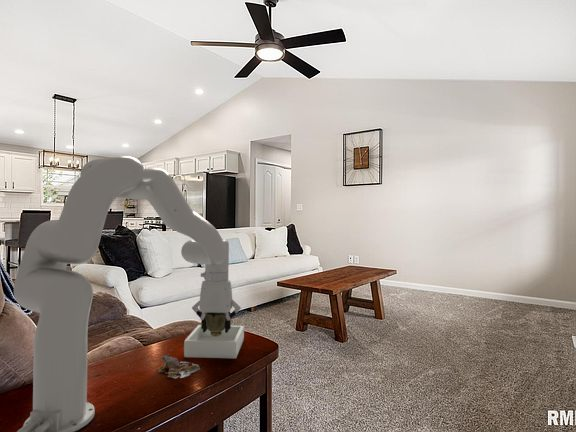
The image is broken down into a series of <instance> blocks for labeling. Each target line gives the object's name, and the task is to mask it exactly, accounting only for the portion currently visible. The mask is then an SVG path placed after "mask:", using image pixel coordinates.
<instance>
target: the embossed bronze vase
mask: <svg viewBox="0 0 576 432" xmlns="http://www.w3.org/2000/svg"><path fill="white" fill-rule="evenodd" d="M205 314H206V313H205ZM205 318H206V326H207V329H208V330H209V331H210V332H211V333H210V334H211V336H212V337H219V336H221V334H222V332H221V331H223V330H224V329H225V321H226V314H224V313H207V314H206V315H205Z"/></svg>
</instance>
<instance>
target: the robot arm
mask: <svg viewBox="0 0 576 432" xmlns="http://www.w3.org/2000/svg"><path fill="white" fill-rule="evenodd" d="M79 173H80V176H79V177H78V178H77V179H76V181H74V183H73V184H72V186H71V188H70V190H69V192H68V194H67V197H66V199H65V203H64V205H63V207H62V210H61V212H60V216H59V218H58V219H50V220H47V221H45V222H42V223H41V224H39V225H38V226H37V227H36V228H34V229H33V231H32V232H31V233H30V235H29V237H28V239H27V241H26V246H25V248H24V251H23V253H22V257H21V260H20V263H19V267H18V269H17V274H16V277H15V280H14V285H13V296H14V299H15V301H16V302H17V304H18V305H19V306H20V307H22V308H24V309H26V310H28V311H30V312H31V311H32V312H36V313H39V318H38V322H37V324H36V327H35V331H34V336H33V348H32V350H33V366H32V368H33V369H32V370H33V371H32V372H33V374H32V377H33V379H32V386H33V387H32V411H30V413H29V414H30V415H29V417H28V418H27V419H26V420H25V421H24V423H23V425H22V427H21V428H19V429H18V430H17V431H16V432H77V431H79V430H81V429H82V428H84V427H85V426H87V425H88V424H89V423H90V422H91V421H92V420H93V418H94V417H95V414H96V413H95V409H96V408H95V406H94V405H93V404H92V403H90V402H89V401H88V399H87V398H88V396H87V395H88V393H87V392H88V336H89V335H88V332H89V331H88V328H89V319H90V318H89V317H90V312H91V307H92V303H93V299H94V290H93V285H92V284H91V282H90V280H89V279H88V278H87V277H86V276H85V275H83V274H81V273H79V272H77V271H73V270H70V269H67V267H68V265H83V264H85V263H88V262H89V261H92V259H93V258H94V257H95V255H96V254H97V251H98V248H99V246H100V242H101V238H102V234H103V230H104V226H105V223H106V219H107V216H108V213H109V209H110V208H111V205H112V203H113V202H114V201H116V199H117V198H120V199H125V200H126V199H128V200H137V201H138V200H139V201H140V200H144V201H145V200H146V201H147V202H149V204H150V205H151V207H152V208H153V209H154V211H155V212H156V215H157V216H159V219H160V220H161V221H162V223H163V224H164V225H165V227H167V228H169V229H171V230H173V231H174V232H176V233H179V234H182V235H184V236H186V237H189V238H190V240H187V241H186V242H185V243H184V244H182V247H181V249H180V252H181V253H180V254H181V257H182V259H184V260H185V261H186V262H187V263H191V264H197V265H204V268H205V269H204V272H201V273H200V277H201V278H204V280H202V283H201V286H200V293H199V300H198V301H197V302H196V303H195V304H194V305H193V306H192V307H191V309H192V310H193V311H194V313H195V314H196V316H197V317H199V318H200V320H201V322H200V323H201V324H200V325H201V328H202V329H203V332H206V330H207V326H206V318H205V315H206V314H207V313H224V314H226V321H225V332H226V333H227V332H228V331H229V329H230V328H231V326H232V325H231V323H232V321H231V320H232V318H234V317H235V316H236V314H237V313H239V311H240V310H241V308H242V307H241V306H240V305H239V303H237V302H236V301H235V300H234V299H233V290H232V288H233V287H232V283H231V282H232V281H231V280H230V279H229V267H230V266H229V265H230V264H229V263H230V262H229V260H230V259H229V255H230V254H229V253H230V249H229V248H230V247H229V246H230V245H229V241H228V240H227V239H226V238H222V236H221V235H220V232H219V231H218V230H217V228H216V227H215V226H214V225H213V224H211V222H210V221H208V220H206V218H204V217H203V216H202V215H200V214H199V213H197V212H196V211H195V210H193V209H192V208H191V206H190V205H189V203H188V201H187V199H186V198H185V197H184V195H183V193H182V191H181V190H180V188H179V186H178V185H177V183H176V182H175V180H174V179H173V177H172V175H171V174H170V173H169V172H168V171H167V170H166V169H164V168H159V167H151V168H149V167H148V168H144V165H143V163H142V162H141V161H140V160H139V159H138V158H135V157H134V156H133V157H132V156H127V155H123V156H122V155H119V156H113V157H107V158H106V157H105V158H97V159H92V160H90V161H88V162H86V163H85V164H84V165H83V166H82V168H81V169H80V172H79ZM233 308H234V310H233V311H232V312H231V309H233ZM205 313H206V314H205Z"/></svg>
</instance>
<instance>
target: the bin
mask: <svg viewBox="0 0 576 432" xmlns="http://www.w3.org/2000/svg"><path fill="white" fill-rule="evenodd" d="M221 332H222V334H221V336H219V337H212V336H211V334H210V333H211V332H210V331H209V330H208V329H207V330H206V332H203V329H202V328H201V324H198V325H197V326H196V327H195V328H194V329H193V330H192V331H191V333H190V334H189V335H188V336H187V337H186V338H185V340H184V341H183V342H184V343H183V358H199V359H200V358H201V359H202V358H203V359H204V358H206V359H237V357H238V355H239V353H240V350H241V348H242V345H243V343H244V340H245V325H231V328H230V329H229V331H228V332H227V333H226V332H225V329H224V330H223V331H221Z"/></svg>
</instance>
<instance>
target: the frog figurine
mask: <svg viewBox="0 0 576 432" xmlns="http://www.w3.org/2000/svg"><path fill="white" fill-rule="evenodd" d="M161 362H162V363H164V364H163V365H162V366H160V367H159V368H158V373H165V372H166V371H167V370H166V369H165V368H168V372H167V374H168V375H167V378H173V379H177V378H180V379H182V378H186V377H189V376H191V374H192V373H196V372H198V371H199V370H201V367H200V365H199V364H195V363H193V362H190V361H179V360H178V358H177V357H172V356H171V355H170V354H166V355H162V356H161ZM181 363H182V364H181ZM189 364H192V365H191V366H189ZM179 374H180V375H179Z"/></svg>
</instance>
